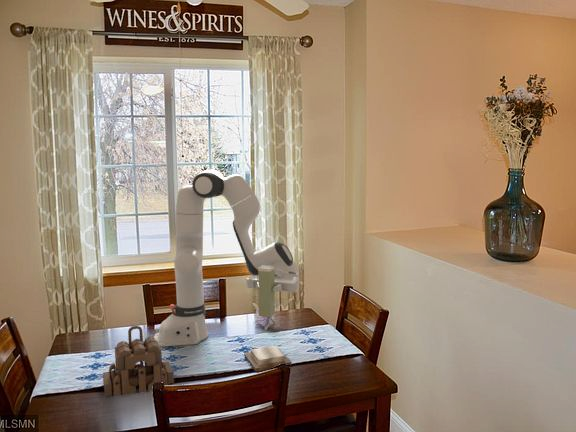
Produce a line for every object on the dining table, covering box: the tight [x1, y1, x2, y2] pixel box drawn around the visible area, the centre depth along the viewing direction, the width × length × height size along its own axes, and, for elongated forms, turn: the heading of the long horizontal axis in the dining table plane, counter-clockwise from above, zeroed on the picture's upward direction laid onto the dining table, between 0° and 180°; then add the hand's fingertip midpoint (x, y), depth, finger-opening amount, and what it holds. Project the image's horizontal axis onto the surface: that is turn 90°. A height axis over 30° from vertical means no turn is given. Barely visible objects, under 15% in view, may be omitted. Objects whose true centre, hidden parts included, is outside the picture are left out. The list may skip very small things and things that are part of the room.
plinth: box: [243, 345, 293, 372], centre depth 184 cm, size 14×14×3 cm
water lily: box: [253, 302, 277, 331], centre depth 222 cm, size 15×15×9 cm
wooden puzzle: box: [102, 325, 175, 398], centre depth 166 cm, size 22×15×19 cm, turn 114°
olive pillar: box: [258, 265, 276, 317], centre depth 181 cm, size 5×5×18 cm
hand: (265, 289), depth 180 cm, fingers closed on olive pillar, 4 cm apart
